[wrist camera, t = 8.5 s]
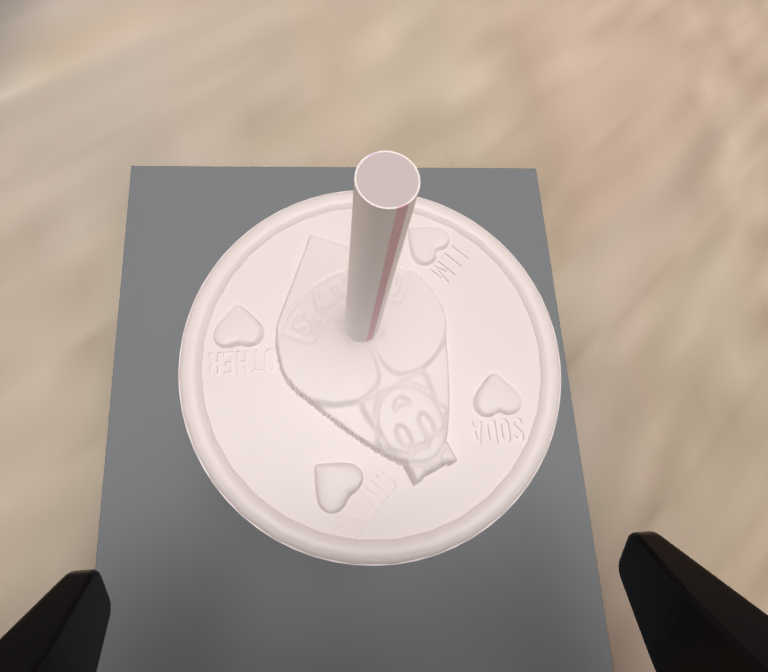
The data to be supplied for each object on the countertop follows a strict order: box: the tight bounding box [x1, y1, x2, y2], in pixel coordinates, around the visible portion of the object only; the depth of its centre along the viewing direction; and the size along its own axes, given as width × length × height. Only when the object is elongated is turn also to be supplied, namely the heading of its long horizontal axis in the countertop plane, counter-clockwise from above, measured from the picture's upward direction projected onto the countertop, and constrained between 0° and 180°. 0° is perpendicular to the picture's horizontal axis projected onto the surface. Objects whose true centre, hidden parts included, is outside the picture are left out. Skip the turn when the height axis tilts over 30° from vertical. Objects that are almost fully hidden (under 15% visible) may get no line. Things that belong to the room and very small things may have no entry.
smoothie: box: [178, 151, 561, 566], centre depth 11 cm, size 6×6×14 cm
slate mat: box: [95, 166, 613, 672], centre depth 18 cm, size 20×16×1 cm
